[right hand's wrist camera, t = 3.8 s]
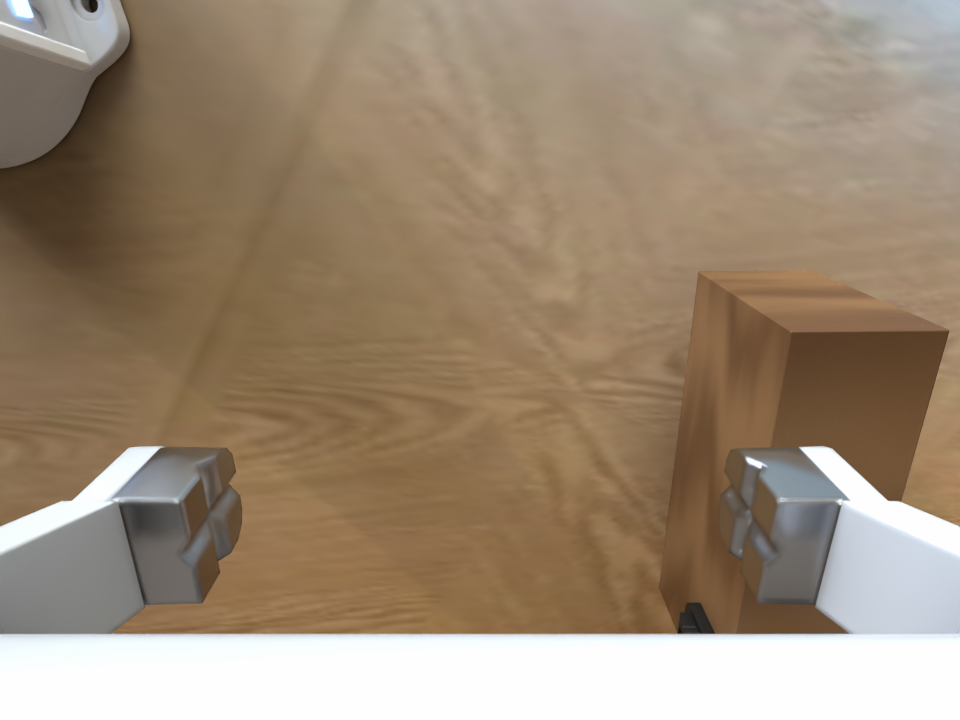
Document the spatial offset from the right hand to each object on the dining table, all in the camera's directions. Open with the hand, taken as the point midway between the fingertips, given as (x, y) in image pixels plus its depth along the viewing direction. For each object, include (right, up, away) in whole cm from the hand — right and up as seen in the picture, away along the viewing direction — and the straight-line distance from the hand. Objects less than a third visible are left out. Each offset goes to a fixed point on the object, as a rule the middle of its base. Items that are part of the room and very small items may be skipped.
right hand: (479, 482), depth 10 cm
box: (+15, -3, +27) cm, 31 cm away
